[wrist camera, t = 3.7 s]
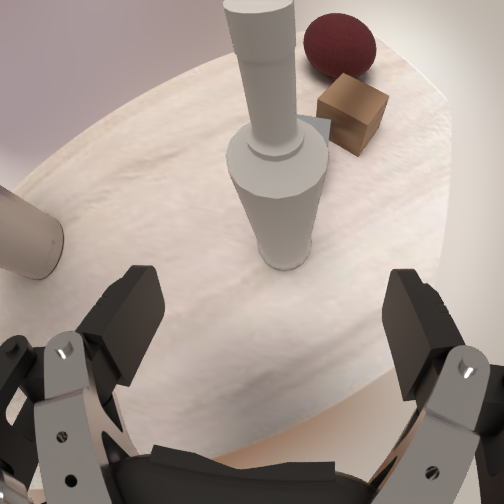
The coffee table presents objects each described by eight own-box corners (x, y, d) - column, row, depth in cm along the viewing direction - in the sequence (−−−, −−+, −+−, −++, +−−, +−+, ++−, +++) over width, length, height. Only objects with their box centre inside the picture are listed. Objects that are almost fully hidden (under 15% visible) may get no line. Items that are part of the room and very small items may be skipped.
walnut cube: (315, 132, 33) (317, 99, 28) (338, 105, 34) (343, 72, 29) (357, 157, 32) (367, 125, 26) (378, 127, 33) (389, 96, 27)
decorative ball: (330, 101, 34) (336, 42, 25) (290, 62, 37) (287, 9, 28) (383, 82, 35) (397, 30, 25) (342, 47, 38) (346, -2, 28)
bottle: (284, 213, 31) (259, -33, 7) (321, 246, 30) (381, 5, 6) (248, 247, 30) (140, 21, 7) (284, 283, 29) (254, 68, 5)
